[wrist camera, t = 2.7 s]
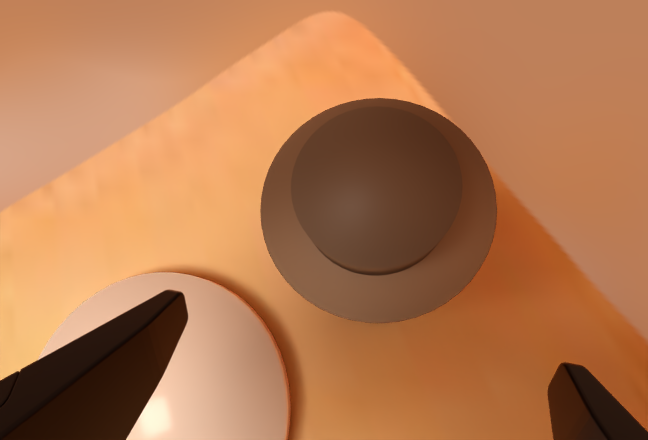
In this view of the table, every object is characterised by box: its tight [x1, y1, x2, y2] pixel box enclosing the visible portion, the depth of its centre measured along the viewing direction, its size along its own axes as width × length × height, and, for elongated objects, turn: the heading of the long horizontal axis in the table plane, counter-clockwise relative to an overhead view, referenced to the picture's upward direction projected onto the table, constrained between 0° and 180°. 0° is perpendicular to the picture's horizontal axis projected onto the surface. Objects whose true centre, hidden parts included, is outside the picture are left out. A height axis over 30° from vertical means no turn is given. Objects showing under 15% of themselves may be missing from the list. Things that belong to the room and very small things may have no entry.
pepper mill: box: [261, 98, 497, 323], centre depth 13 cm, size 5×5×13 cm
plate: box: [38, 272, 291, 440], centre depth 19 cm, size 13×13×1 cm
